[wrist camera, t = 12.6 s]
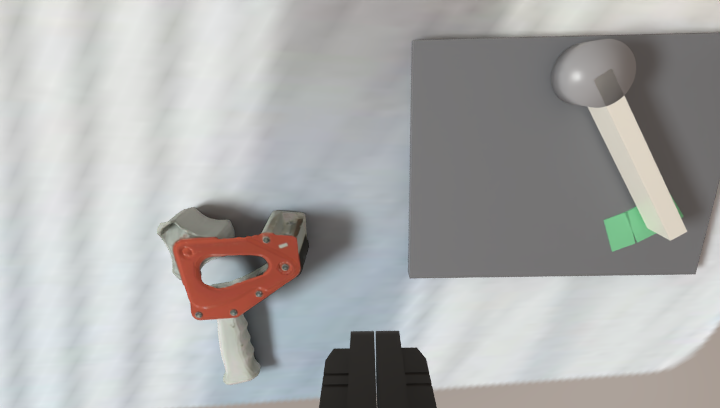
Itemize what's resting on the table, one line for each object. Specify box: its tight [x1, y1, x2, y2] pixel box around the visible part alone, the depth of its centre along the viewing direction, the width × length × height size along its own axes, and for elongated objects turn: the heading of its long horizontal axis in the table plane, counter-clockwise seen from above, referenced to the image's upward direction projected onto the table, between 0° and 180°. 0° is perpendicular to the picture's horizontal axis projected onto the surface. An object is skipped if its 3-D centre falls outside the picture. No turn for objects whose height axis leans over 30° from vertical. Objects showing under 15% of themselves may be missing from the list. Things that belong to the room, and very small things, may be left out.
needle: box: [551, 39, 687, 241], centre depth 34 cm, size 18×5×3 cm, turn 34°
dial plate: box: [408, 33, 720, 278], centre depth 37 cm, size 22×28×2 cm
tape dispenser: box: [157, 207, 309, 385], centre depth 40 cm, size 18×5×20 cm
